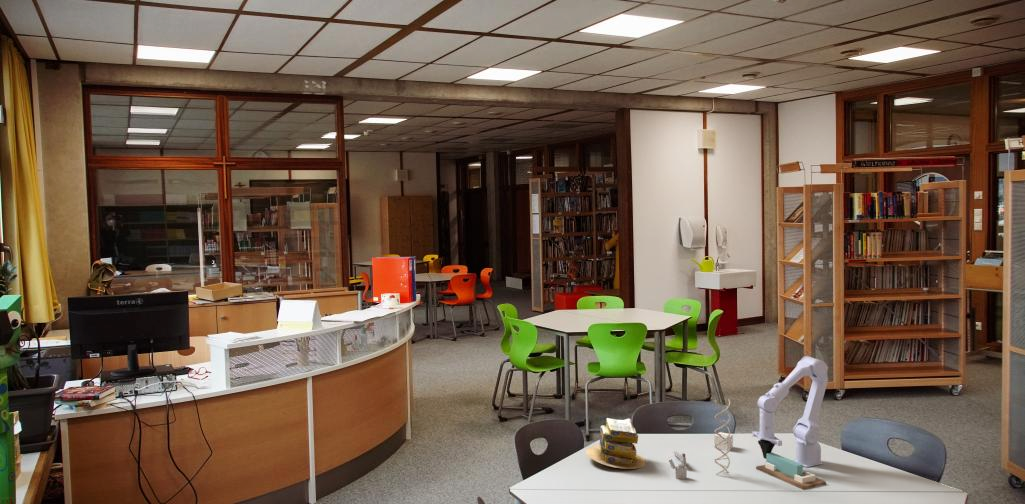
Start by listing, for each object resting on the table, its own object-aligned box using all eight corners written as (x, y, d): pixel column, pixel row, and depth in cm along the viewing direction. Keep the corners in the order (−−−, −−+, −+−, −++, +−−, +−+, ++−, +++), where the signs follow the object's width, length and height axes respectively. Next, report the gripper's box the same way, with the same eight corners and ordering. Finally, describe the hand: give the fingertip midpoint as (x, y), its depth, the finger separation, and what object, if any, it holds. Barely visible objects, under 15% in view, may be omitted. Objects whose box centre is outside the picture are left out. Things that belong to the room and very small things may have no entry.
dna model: (724, 469, 285) (724, 396, 284) (733, 475, 279) (734, 400, 278) (710, 471, 283) (710, 398, 282) (719, 477, 277) (720, 402, 276)
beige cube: (714, 448, 312) (714, 435, 312) (719, 445, 317) (719, 431, 316) (727, 451, 308) (727, 437, 308) (732, 447, 313) (732, 434, 312)
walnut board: (778, 464, 291) (778, 461, 291) (825, 484, 269) (826, 481, 269) (756, 468, 286) (756, 466, 286) (802, 489, 264) (802, 486, 264)
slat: (771, 464, 288) (771, 452, 288) (802, 477, 274) (802, 464, 274) (766, 465, 287) (766, 453, 287) (797, 478, 273) (797, 465, 272)
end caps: (778, 464, 288) (778, 460, 288) (815, 480, 271) (815, 475, 271) (765, 467, 285) (765, 462, 285) (802, 483, 268) (802, 478, 268)
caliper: (686, 470, 286) (686, 455, 286) (683, 470, 286) (683, 455, 286) (675, 453, 307) (675, 439, 306) (673, 453, 307) (673, 439, 306)
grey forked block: (685, 477, 278) (685, 457, 277) (686, 478, 276) (686, 458, 276) (667, 476, 278) (667, 457, 278) (668, 478, 276) (668, 458, 276)
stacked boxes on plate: (647, 454, 305) (647, 416, 305) (642, 474, 282) (642, 432, 281) (591, 449, 312) (591, 412, 311) (581, 468, 288) (581, 428, 287)
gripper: (746, 422, 293) (746, 454, 294) (772, 431, 280) (772, 465, 281) (759, 419, 296) (759, 451, 297) (786, 429, 283) (785, 462, 284)
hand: (766, 458), depth 289 cm, fingers closed
